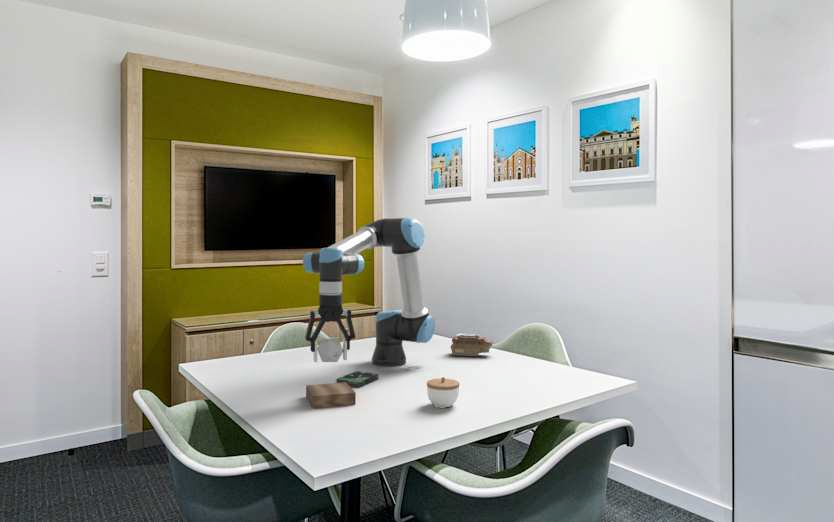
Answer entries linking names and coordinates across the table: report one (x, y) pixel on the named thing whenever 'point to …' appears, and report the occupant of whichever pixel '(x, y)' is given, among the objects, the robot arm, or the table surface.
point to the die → (330, 349)
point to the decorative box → (470, 344)
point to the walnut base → (330, 395)
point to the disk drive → (358, 379)
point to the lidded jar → (442, 391)
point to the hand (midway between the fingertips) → (330, 360)
